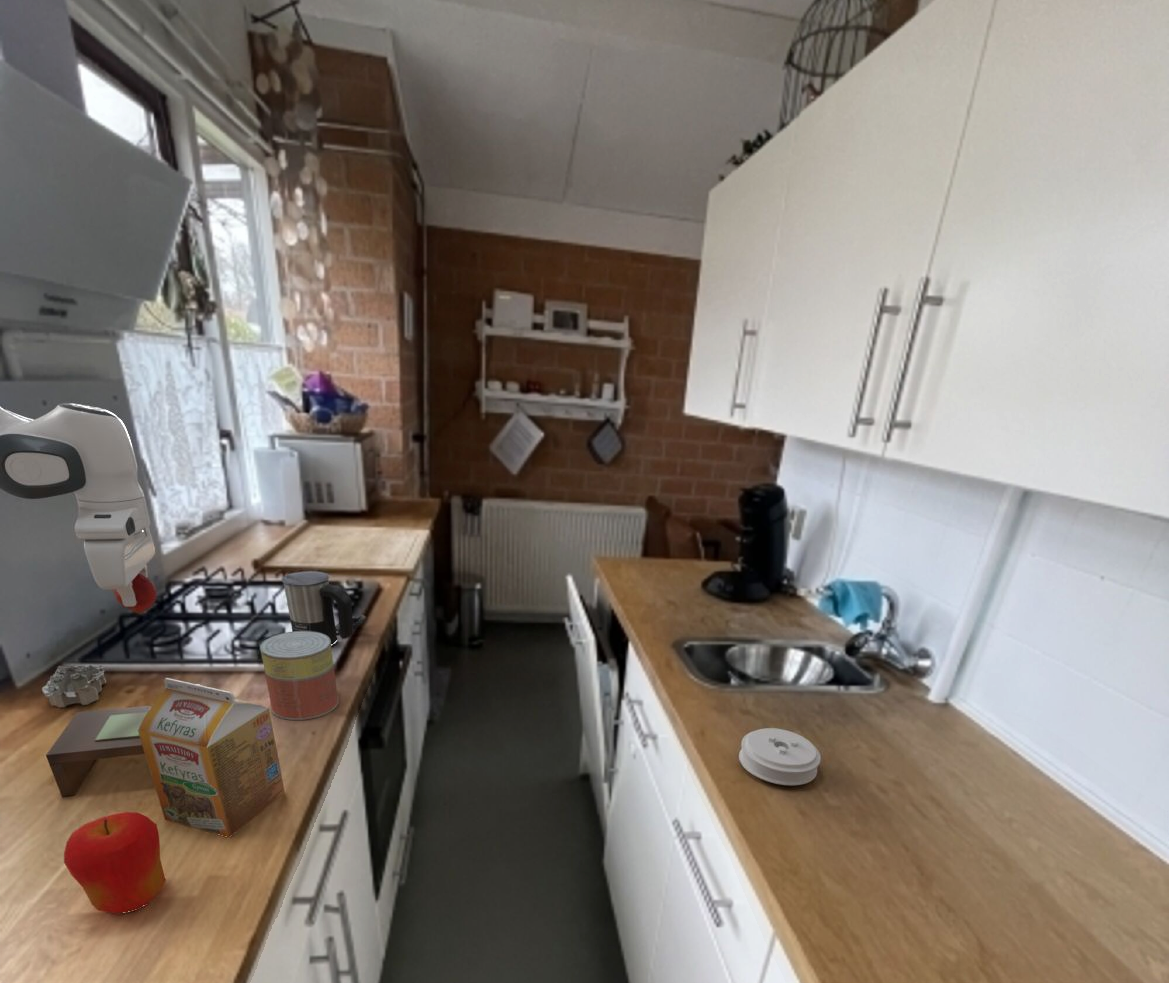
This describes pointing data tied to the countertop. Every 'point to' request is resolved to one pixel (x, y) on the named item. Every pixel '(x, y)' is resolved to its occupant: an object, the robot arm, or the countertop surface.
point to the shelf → (94, 743)
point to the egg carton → (74, 685)
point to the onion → (141, 594)
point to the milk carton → (210, 757)
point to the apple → (117, 861)
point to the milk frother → (319, 605)
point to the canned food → (300, 674)
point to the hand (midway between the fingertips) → (136, 597)
